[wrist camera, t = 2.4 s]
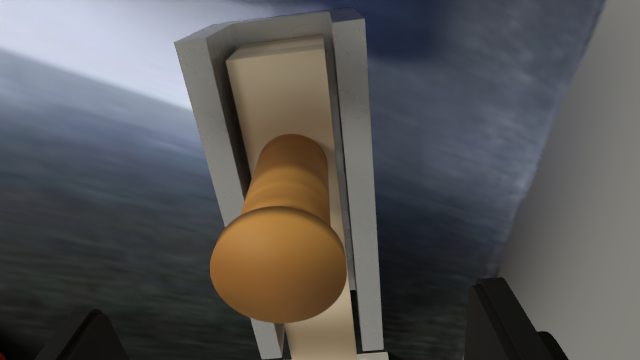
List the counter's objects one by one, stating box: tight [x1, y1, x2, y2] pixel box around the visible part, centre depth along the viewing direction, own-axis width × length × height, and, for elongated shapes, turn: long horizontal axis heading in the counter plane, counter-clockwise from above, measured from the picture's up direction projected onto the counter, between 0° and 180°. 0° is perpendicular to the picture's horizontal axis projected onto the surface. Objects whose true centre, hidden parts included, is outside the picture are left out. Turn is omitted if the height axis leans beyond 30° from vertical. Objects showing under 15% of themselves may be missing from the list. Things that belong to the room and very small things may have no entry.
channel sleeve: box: [174, 7, 383, 359], centre depth 21 cm, size 18×7×6 cm, turn 7°
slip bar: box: [210, 35, 357, 360], centre depth 19 cm, size 20×4×11 cm, turn 7°
